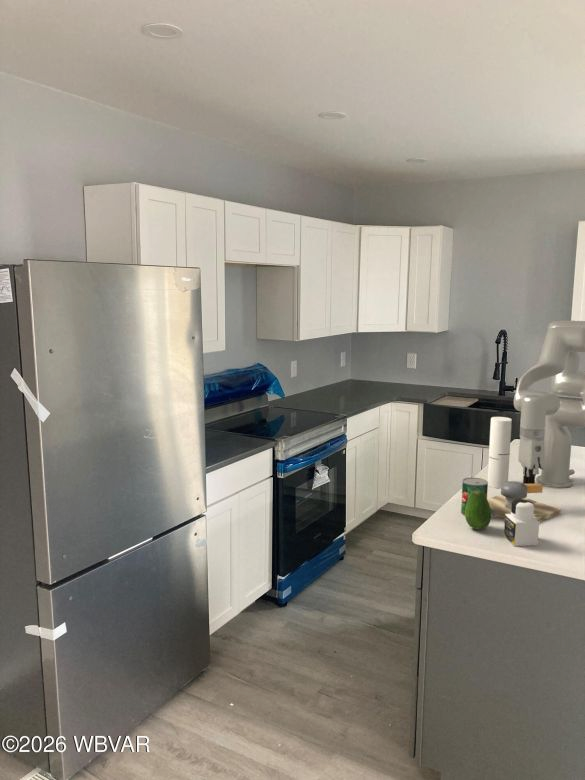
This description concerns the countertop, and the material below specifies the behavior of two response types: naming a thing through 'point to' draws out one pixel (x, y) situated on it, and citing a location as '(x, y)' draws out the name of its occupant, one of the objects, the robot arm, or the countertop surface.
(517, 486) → the grey paddle
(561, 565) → the countertop surface
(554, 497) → the countertop surface
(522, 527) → the medicine bottle
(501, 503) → the plate
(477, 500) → the avocado
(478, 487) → the canned tomato
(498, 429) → the cylindrical container
